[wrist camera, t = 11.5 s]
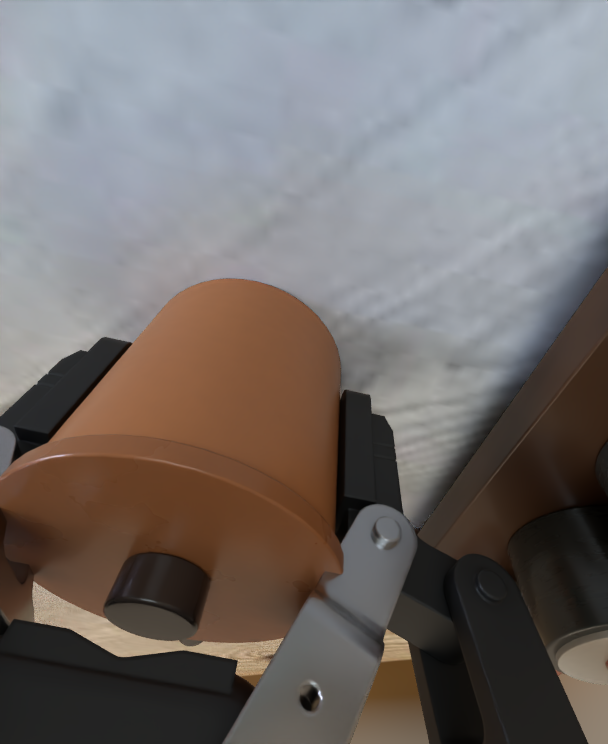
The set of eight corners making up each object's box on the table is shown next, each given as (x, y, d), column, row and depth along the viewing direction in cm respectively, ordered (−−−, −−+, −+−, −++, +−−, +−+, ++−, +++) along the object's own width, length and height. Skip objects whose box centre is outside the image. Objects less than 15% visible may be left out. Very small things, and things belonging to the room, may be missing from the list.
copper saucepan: (138, 246, 10) (-149, 459, 4) (374, 300, 10) (404, 570, 5) (156, 504, 17) (57, 714, 11) (295, 532, 17) (267, 752, 12)
